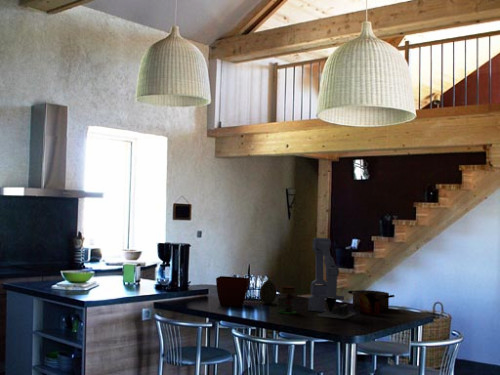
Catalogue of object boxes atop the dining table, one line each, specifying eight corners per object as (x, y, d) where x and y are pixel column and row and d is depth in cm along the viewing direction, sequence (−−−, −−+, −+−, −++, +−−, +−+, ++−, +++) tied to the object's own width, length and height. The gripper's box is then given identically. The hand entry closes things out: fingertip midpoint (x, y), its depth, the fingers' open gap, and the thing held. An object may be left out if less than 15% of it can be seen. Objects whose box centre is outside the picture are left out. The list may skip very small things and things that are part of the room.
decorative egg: (270, 305, 401) (271, 281, 402) (256, 303, 407) (257, 279, 407) (279, 303, 410) (280, 280, 411) (264, 301, 416) (265, 278, 417)
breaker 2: (342, 312, 374) (342, 304, 374) (344, 311, 378) (344, 304, 378) (346, 312, 373) (346, 305, 373) (348, 311, 377) (348, 304, 377)
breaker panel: (318, 316, 363) (318, 312, 364) (330, 311, 383) (330, 308, 383) (345, 318, 357) (345, 315, 357) (356, 314, 376) (356, 310, 377)
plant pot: (249, 304, 402) (250, 277, 403) (245, 308, 383) (247, 280, 384) (219, 302, 404) (220, 275, 405) (214, 306, 385) (215, 278, 386)
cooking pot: (340, 308, 401) (341, 291, 402) (355, 305, 420) (356, 288, 420) (386, 314, 385) (386, 296, 385) (399, 310, 403) (400, 293, 404)
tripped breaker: (332, 314, 362) (332, 307, 362) (334, 313, 366) (334, 306, 366) (336, 314, 361) (336, 307, 361) (338, 314, 365) (338, 306, 365)
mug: (378, 316, 372) (379, 295, 373) (356, 313, 380) (357, 293, 380) (384, 314, 380) (385, 294, 380) (363, 312, 388) (363, 292, 388)
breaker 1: (338, 313, 368) (338, 306, 368) (340, 312, 371) (340, 305, 372) (342, 313, 367) (342, 306, 367) (344, 313, 370) (344, 305, 370)
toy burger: (301, 312, 374) (302, 287, 375) (291, 314, 364) (291, 288, 365) (284, 310, 381) (285, 285, 382) (273, 312, 371) (274, 286, 371)
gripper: (317, 287, 365) (316, 311, 364) (341, 289, 358) (340, 313, 358) (321, 286, 371) (320, 309, 370) (345, 288, 365) (344, 312, 364)
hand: (330, 311), depth 365 cm, fingers closed
